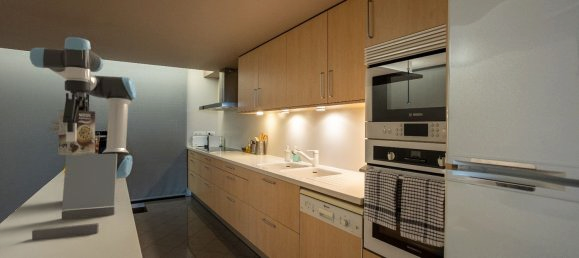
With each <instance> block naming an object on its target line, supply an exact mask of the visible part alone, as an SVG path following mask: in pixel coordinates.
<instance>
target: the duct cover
mask: <svg viewBox="0 0 579 258" xmlns="http://www.w3.org/2000/svg"><path fill="white" fill-rule="evenodd" d="M64 165H65V167H64V179H63V190H62V191H63V192H62V201H61V202H62V203H61V204H62V205H61V210H62V211H66V210H78V209H91V208H104V207H115V205H116V187H117V185H116V184H117V179H116V170H117V154H102V153H97V154H94V153H91V154H81V155H65V164H64Z"/></svg>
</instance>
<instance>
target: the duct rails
mask: <svg viewBox="0 0 579 258" xmlns="http://www.w3.org/2000/svg"><path fill="white" fill-rule="evenodd" d="M115 213H116V207H115V206H105V207H92V208H80V209H67V210H62V211H61V220H70V219H80V218H82V219H83V218H90V217H100V216H101V217H103V216H104V217H105V216H114V215H115ZM99 225H100V223H99V222H96V223H85V224H83V223H82V224H76V225H66V226H65V225H63V226H54V227H43V228H34V229H32V230H31V240H32V241H34V240H35V241H36V240H43V239H44V240H45V239H52V238H54V239H55V238H63V237H64V238H65V237H73V236H74V237H75V236H82V235H92V234H98V233H99V231H100V229H99V227H100V226H99Z"/></svg>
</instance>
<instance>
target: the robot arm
mask: <svg viewBox="0 0 579 258" xmlns="http://www.w3.org/2000/svg"><path fill="white" fill-rule="evenodd" d="M29 60H30V62H31V64H32V66H34V67H36V68H41V69H49V70H50V71H52V72H54V73H55V74H57V75H59V76H60V77H61V78H63V79H65V81H64V90H65V91H66V92H65V103H64V109H63V110H64V116H63V123H66V142H74V141H76V123H75V120H76V116H77V110H82V111H90V109H89V96H92V97H95V98H100V99H105V101H106V102H107V103H108V104H109V107H108V117H107V118H108V120H107V122H108V123H107V137H106V146H105V147H106V148H105V150H103V152H102V153H101V154H117V170H116V180H119V179H125V178H126V179H127V177H128V176H129V175H130V173H131V171H132V168H133V156H132V155H130V152H129V151H128V150H127V134H128V133H127V131H128V119H129V118H128V117H129V106H130V105H131V104H132V103H133V102H132V101H133V100H136V96H137V90H136V86H135V82H134V80H133V79H132V78H130V77H126V76H125V77H124V76H110V75H109V76H106V75H105V76H104V75H94V74H92V73H97V72H100V71H101V70H102V69H103V68H104V60H103V59H102V58H101V57H100V56H99V55H98V53H95V52H94V51H92V47H91V42H90V40H88V39H85V38H81V37H77V36H75V37H74V36H68V37H66V38H65V40H64V47H63V49H61V48H49V47H48V48H47V47H33V48H31V49H30V52H29ZM85 94H87V95H88V96H85ZM74 110H75V111H74ZM93 154H98V153H96V152H95V153H93Z"/></svg>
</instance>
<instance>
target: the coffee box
mask: <svg viewBox="0 0 579 258" xmlns="http://www.w3.org/2000/svg"><path fill="white" fill-rule="evenodd" d="M74 111H75V110H74ZM63 116H64V109H62V110H60V109H59V113H58V155H59V156H66V155H81V154H94V153H96V111H92V110H89V111H82V110H77V116H76V120H75V123H76V141H74V142H66V123H63Z"/></svg>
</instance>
